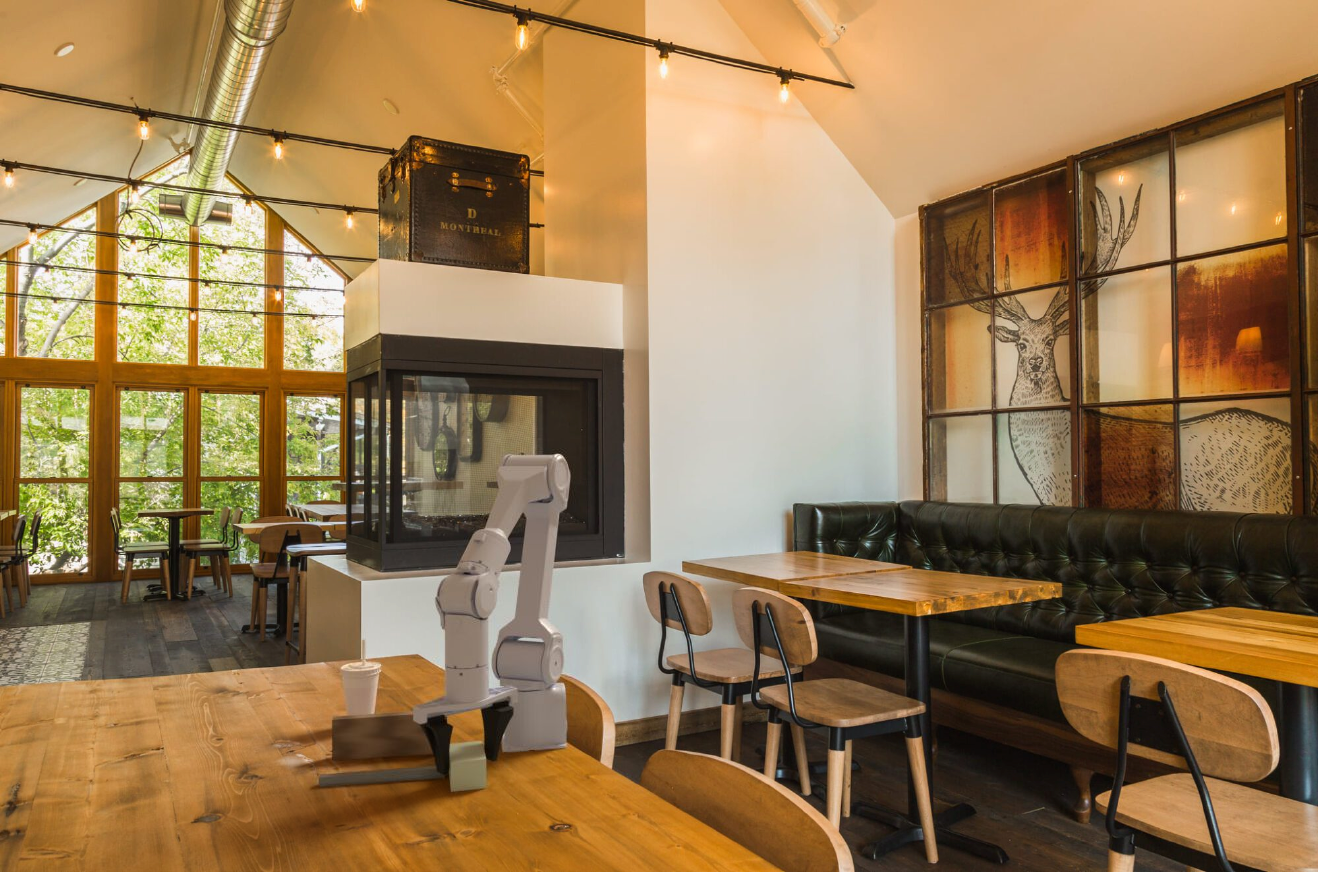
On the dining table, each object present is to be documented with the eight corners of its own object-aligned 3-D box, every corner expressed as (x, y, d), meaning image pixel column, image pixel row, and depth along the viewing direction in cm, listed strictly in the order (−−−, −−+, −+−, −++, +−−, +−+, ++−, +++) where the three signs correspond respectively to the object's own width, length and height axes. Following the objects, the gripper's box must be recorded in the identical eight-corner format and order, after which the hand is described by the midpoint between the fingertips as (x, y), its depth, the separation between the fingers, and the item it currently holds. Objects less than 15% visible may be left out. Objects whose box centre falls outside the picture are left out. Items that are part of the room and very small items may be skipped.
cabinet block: (482, 773, 122) (482, 740, 122) (486, 793, 115) (486, 758, 115) (449, 776, 121) (448, 743, 121) (451, 797, 114) (450, 762, 114)
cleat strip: (444, 777, 120) (444, 764, 120) (444, 781, 119) (444, 767, 119) (320, 788, 117) (320, 774, 117) (318, 791, 116) (318, 777, 116)
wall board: (447, 749, 131) (447, 709, 131) (446, 753, 130) (446, 712, 130) (333, 758, 128) (333, 716, 128) (332, 761, 126) (332, 719, 127)
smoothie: (368, 733, 139) (368, 644, 139) (331, 731, 140) (331, 642, 141) (388, 721, 145) (388, 635, 146) (353, 718, 147) (353, 634, 147)
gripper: (498, 650, 126) (499, 745, 126) (402, 667, 116) (403, 771, 116) (525, 659, 121) (526, 758, 120) (427, 677, 111) (427, 786, 111)
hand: (467, 765), depth 118 cm, fingers open, 7 cm apart
